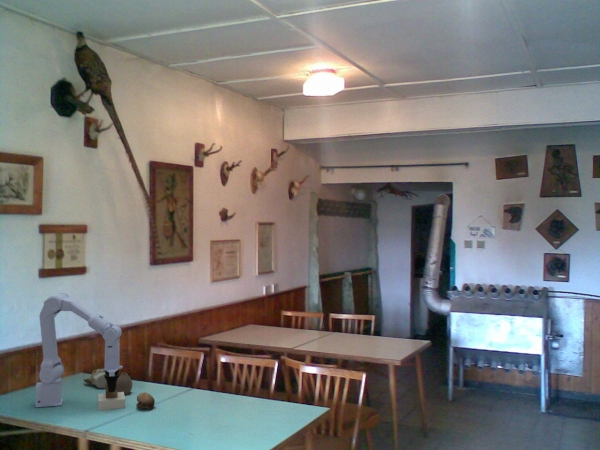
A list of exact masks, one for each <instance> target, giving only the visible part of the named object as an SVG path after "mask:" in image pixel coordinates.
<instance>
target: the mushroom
mask: <svg viewBox="0 0 600 450" xmlns="http://www.w3.org/2000/svg"><path fill="white" fill-rule="evenodd" d="M136 401H137V403H136V404H135V406H136V408H137V409H143V408H144V409H147V410H152V409H153V408H154V406H155V398H154V397H153V396H152V395H151V394H150V393H148V392H141V393H139V394H138V395H136Z"/></svg>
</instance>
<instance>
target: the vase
mask: <svg viewBox="0 0 600 450" xmlns="http://www.w3.org/2000/svg"><path fill="white" fill-rule="evenodd" d="M117 383H118V392H124V395H125V396H127V395H128V394H130V393H131V391H132V389H133V380H132V379H131V377H130V376H129V375H128V373H127V372H121V373H120V374H119V377H118V379H117Z"/></svg>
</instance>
